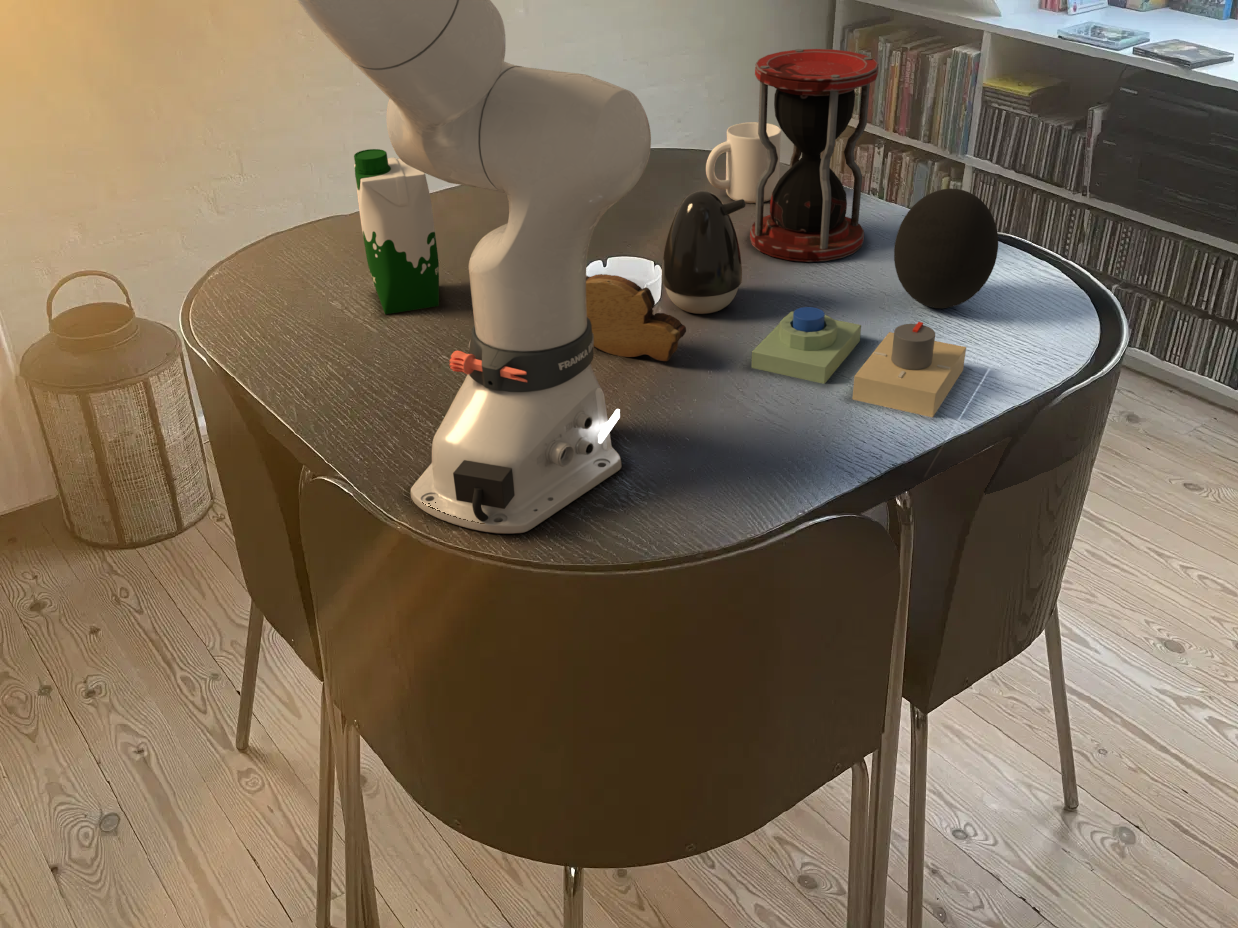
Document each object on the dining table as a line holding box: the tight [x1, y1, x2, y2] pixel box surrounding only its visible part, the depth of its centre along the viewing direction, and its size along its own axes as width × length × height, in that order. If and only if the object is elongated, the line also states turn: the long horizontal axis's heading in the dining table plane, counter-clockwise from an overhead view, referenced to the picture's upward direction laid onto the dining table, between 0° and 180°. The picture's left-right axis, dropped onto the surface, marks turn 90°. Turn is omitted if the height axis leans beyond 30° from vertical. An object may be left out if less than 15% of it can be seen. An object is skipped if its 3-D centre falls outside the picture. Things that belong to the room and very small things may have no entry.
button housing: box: [751, 311, 862, 385], centre depth 138 cm, size 12×9×4 cm
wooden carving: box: [586, 273, 687, 362], centre depth 138 cm, size 16×5×10 cm, turn 64°
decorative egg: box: [893, 188, 999, 309], centre depth 145 cm, size 12×12×15 cm
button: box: [793, 306, 826, 332], centre depth 137 cm, size 4×4×2 cm
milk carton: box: [353, 148, 440, 315], centre depth 150 cm, size 9×9×20 cm
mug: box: [705, 121, 782, 204], centre depth 182 cm, size 12×8×10 cm
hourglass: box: [749, 48, 879, 263], centre depth 162 cm, size 16×16×25 cm
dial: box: [891, 321, 936, 370], centre depth 129 cm, size 4×4×4 cm
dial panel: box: [852, 331, 967, 418], centre depth 131 cm, size 12×9×3 cm
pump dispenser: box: [661, 190, 747, 315], centre depth 147 cm, size 10×10×15 cm
